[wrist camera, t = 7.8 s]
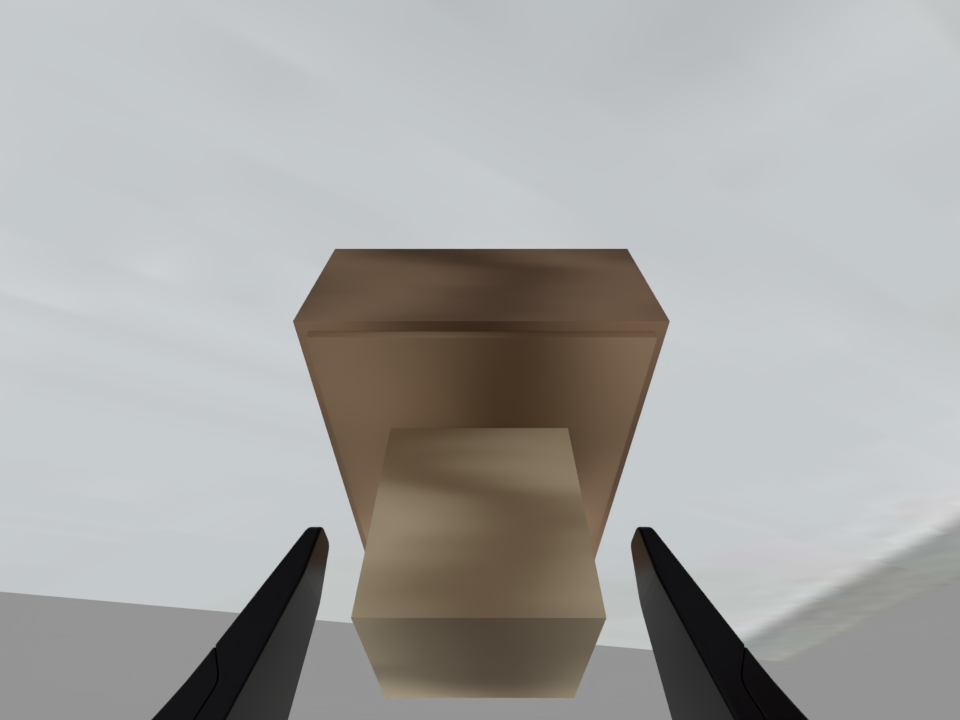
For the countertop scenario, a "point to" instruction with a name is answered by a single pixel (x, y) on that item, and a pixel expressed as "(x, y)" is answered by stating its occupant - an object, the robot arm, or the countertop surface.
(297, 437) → the countertop surface
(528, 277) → the walnut box
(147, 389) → the countertop surface
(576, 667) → the oak cube
